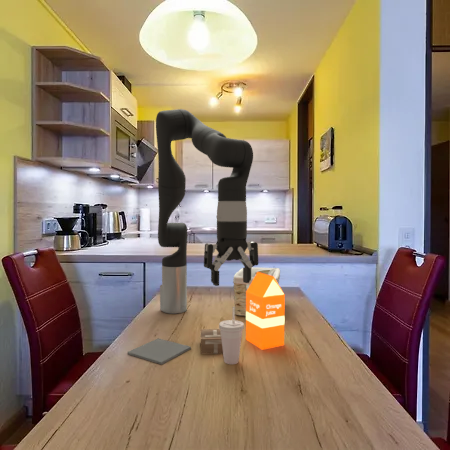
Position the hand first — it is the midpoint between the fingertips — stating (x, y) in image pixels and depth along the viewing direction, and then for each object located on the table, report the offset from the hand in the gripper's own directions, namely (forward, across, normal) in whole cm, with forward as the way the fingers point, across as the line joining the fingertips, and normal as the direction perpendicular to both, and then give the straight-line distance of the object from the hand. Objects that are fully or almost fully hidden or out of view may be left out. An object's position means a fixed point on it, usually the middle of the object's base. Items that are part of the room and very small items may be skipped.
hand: (231, 283), depth 91 cm
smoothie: (+20, 0, 0) cm, 20 cm away
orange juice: (+20, +15, +8) cm, 26 cm away
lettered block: (+20, 0, +10) cm, 22 cm away
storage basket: (+20, +31, +38) cm, 53 cm away
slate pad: (+20, -15, +14) cm, 28 cm away
